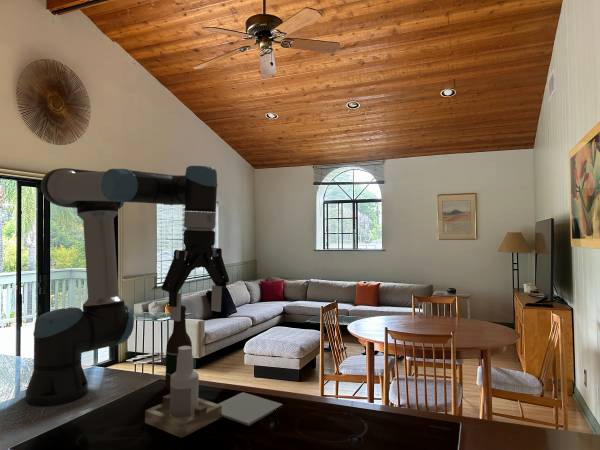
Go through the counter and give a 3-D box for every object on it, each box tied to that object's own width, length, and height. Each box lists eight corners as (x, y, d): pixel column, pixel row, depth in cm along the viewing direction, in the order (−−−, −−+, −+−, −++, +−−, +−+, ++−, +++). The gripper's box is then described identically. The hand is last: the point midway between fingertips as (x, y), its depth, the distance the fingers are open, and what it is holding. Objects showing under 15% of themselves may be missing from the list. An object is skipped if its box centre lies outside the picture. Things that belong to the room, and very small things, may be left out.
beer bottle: (184, 393, 126) (186, 309, 125) (159, 390, 127) (161, 307, 127) (196, 383, 133) (197, 304, 133) (172, 381, 135) (174, 303, 135)
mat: (207, 411, 114) (207, 408, 114) (242, 394, 126) (242, 392, 126) (248, 425, 106) (248, 423, 106) (282, 406, 118) (282, 404, 118)
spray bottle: (167, 416, 110) (169, 345, 110) (195, 412, 113) (196, 342, 113) (171, 428, 104) (172, 352, 104) (200, 423, 107) (201, 350, 107)
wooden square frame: (144, 422, 107) (144, 404, 107) (185, 404, 118) (185, 387, 118) (182, 438, 99) (182, 418, 99) (222, 417, 110) (222, 399, 110)
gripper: (170, 230, 95) (166, 327, 95) (244, 230, 116) (241, 309, 117) (147, 228, 99) (144, 322, 100) (223, 228, 120) (220, 305, 121)
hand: (196, 315), depth 108 cm, fingers open, 13 cm apart
